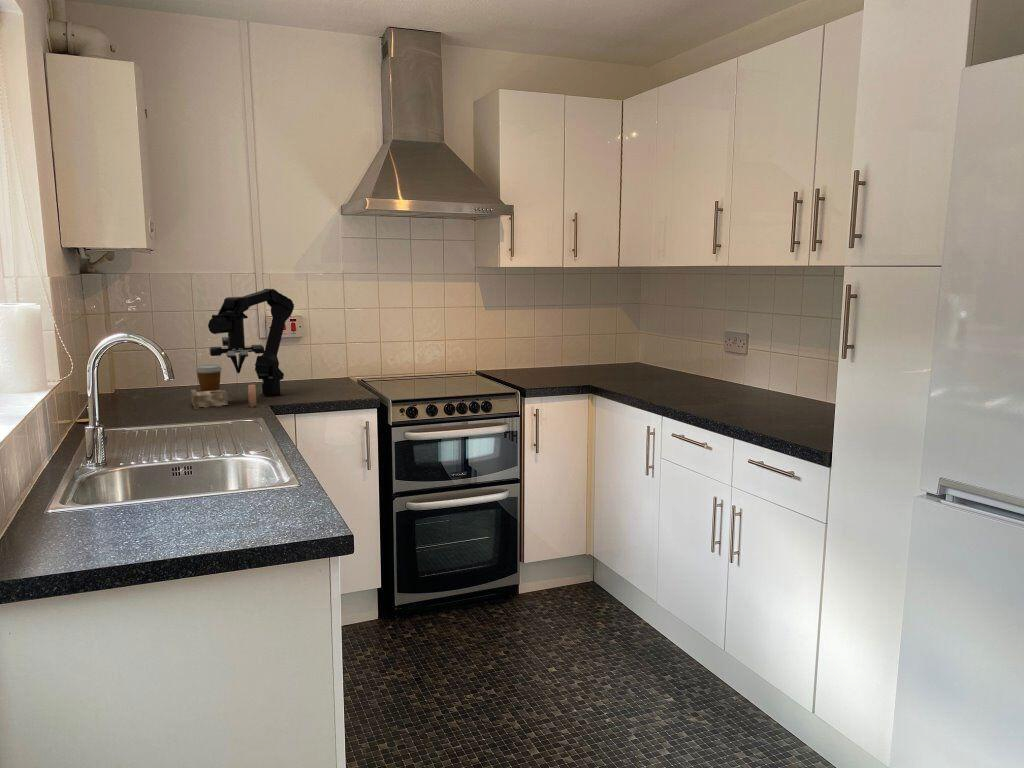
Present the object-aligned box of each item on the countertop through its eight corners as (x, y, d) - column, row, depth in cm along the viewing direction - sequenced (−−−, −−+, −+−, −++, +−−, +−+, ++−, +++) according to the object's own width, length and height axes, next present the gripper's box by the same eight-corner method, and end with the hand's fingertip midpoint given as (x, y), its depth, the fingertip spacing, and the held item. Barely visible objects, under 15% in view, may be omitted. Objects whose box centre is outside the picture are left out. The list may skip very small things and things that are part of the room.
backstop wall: (196, 402, 284) (195, 389, 283) (199, 409, 272) (198, 395, 271) (191, 403, 283) (190, 389, 282) (194, 409, 272) (193, 396, 271)
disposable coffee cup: (206, 399, 289) (203, 368, 287) (192, 396, 295) (190, 366, 293) (228, 396, 297) (226, 365, 294) (214, 393, 302) (212, 363, 300)
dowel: (256, 405, 279) (254, 384, 277) (257, 406, 277) (255, 385, 275) (248, 406, 278) (247, 384, 276) (249, 407, 275) (248, 385, 274)
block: (225, 401, 286) (224, 389, 285) (227, 405, 279) (227, 393, 278) (196, 403, 282) (195, 392, 281) (198, 407, 275) (197, 395, 274)
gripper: (258, 328, 291) (261, 368, 294) (206, 330, 283) (209, 371, 285) (263, 331, 281) (265, 372, 284) (209, 333, 273) (212, 376, 276)
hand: (238, 373), depth 283 cm, fingers closed
